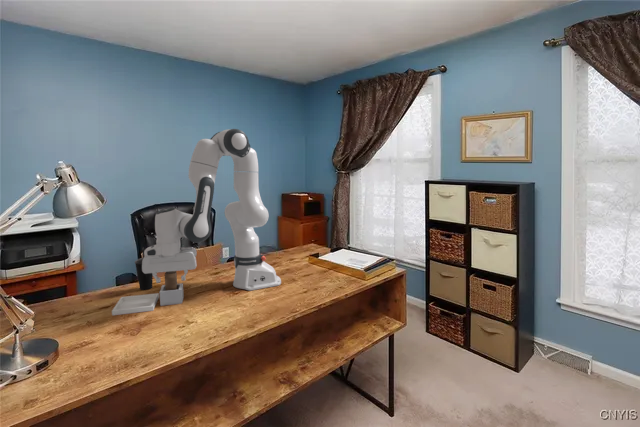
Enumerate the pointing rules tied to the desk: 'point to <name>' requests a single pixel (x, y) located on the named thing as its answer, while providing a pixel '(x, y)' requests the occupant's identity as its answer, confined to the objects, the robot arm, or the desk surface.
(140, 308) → the tray
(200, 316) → the desk surface
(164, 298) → the box
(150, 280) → the drinking cup
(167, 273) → the walnut peg
